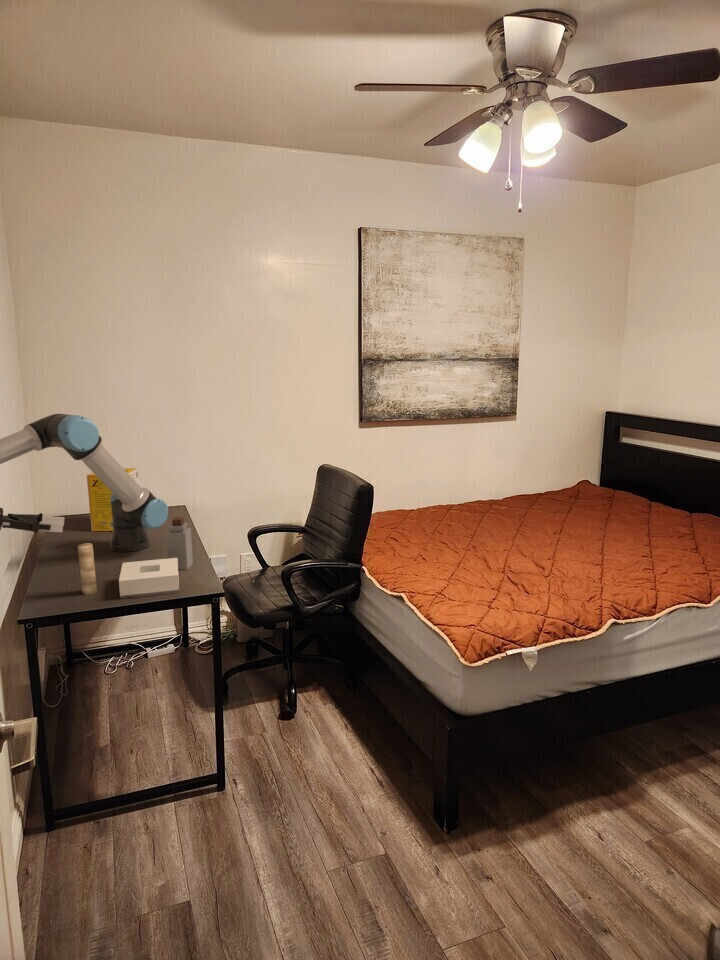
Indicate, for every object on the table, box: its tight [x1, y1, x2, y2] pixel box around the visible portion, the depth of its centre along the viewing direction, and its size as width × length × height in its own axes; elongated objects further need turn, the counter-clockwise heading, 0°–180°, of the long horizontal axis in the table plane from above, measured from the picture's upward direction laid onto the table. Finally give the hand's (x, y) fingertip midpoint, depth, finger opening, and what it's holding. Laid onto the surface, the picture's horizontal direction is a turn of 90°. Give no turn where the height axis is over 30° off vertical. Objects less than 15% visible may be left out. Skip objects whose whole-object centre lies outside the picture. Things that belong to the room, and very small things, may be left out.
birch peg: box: [77, 542, 98, 596], centre depth 206 cm, size 4×4×16 cm
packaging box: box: [85, 467, 141, 532], centre depth 280 cm, size 16×16×25 cm
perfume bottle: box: [165, 516, 194, 571], centre depth 230 cm, size 7×7×18 cm
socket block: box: [118, 558, 180, 599], centre depth 212 cm, size 18×18×6 cm
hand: (63, 524), depth 202 cm, fingers open, 13 cm apart
